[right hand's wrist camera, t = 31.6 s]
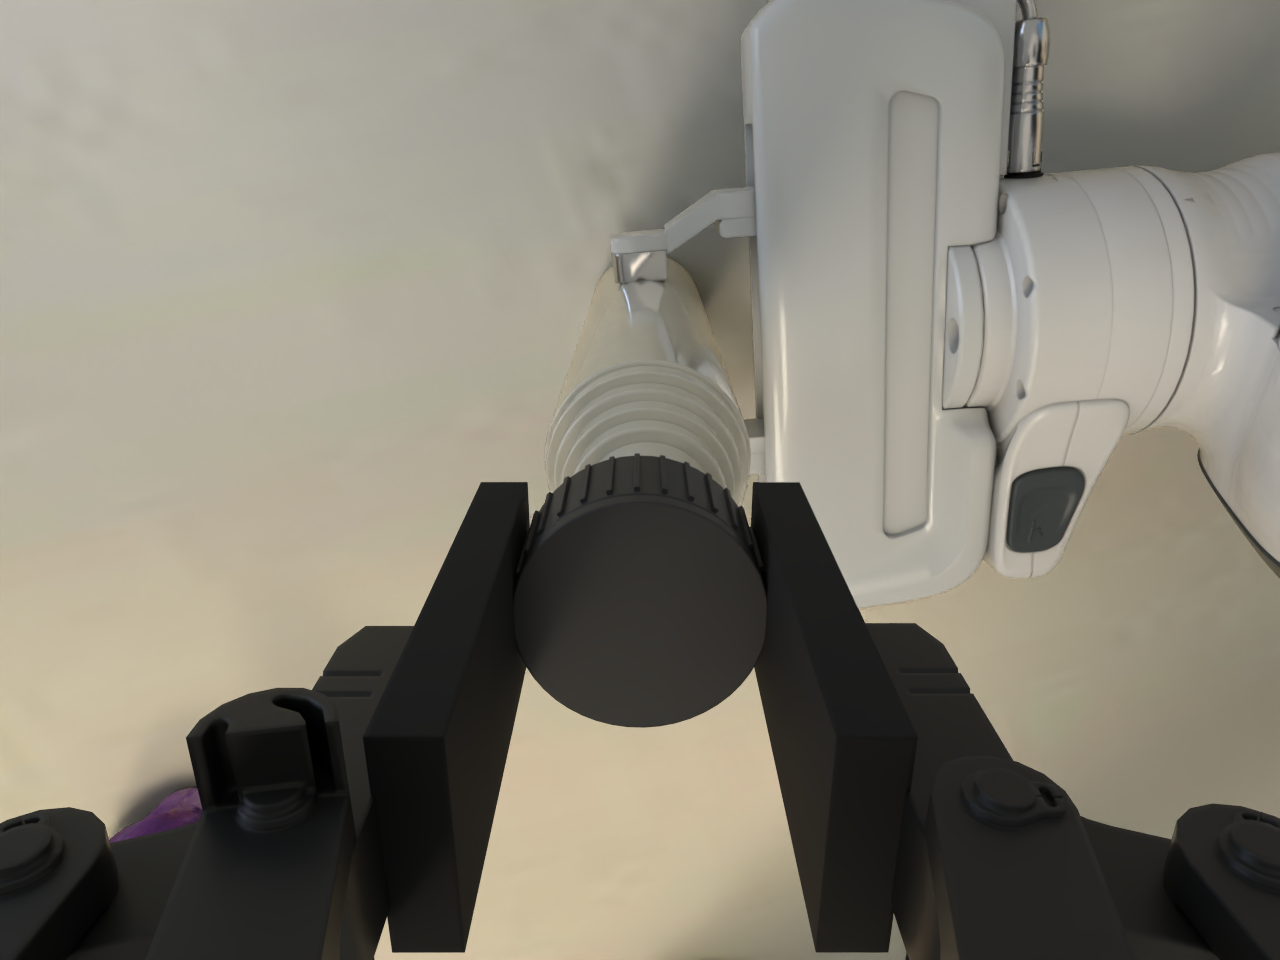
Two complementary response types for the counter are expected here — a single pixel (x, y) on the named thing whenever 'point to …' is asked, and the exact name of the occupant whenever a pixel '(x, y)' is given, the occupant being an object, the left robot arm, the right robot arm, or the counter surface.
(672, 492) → the cap
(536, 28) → the counter surface
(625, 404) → the bottle
